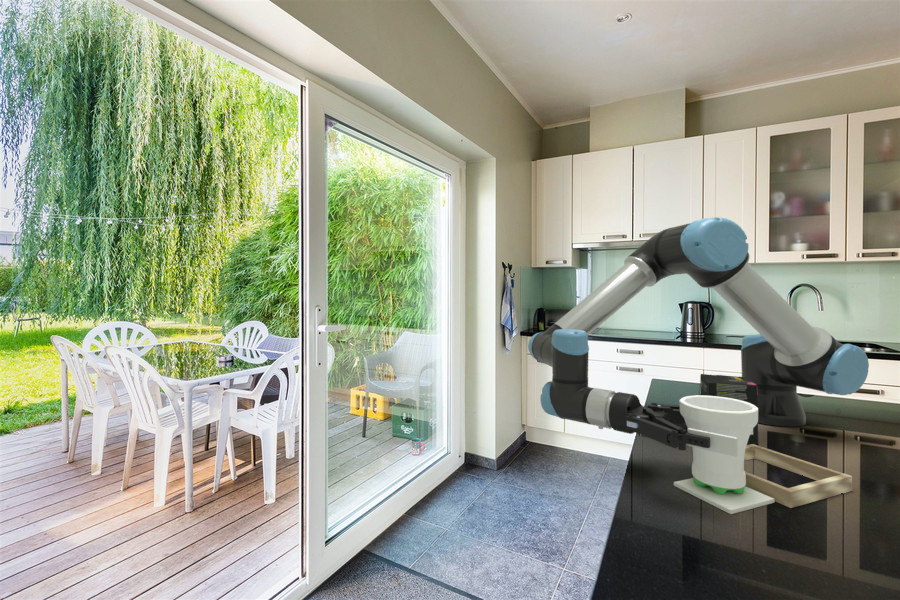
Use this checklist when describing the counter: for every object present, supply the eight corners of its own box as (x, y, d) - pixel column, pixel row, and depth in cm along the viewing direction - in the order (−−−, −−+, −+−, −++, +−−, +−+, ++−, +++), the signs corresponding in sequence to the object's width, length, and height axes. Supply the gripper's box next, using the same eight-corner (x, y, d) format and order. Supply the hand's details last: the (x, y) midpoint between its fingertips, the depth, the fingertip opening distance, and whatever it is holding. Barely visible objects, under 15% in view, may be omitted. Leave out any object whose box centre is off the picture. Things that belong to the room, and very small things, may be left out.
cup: (667, 471, 74) (666, 395, 74) (727, 470, 74) (727, 394, 74) (706, 502, 63) (705, 412, 63) (777, 501, 63) (776, 411, 63)
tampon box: (759, 454, 83) (759, 384, 83) (708, 448, 87) (707, 381, 87) (745, 437, 93) (745, 375, 93) (699, 432, 97) (699, 372, 97)
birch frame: (752, 456, 82) (752, 444, 82) (852, 490, 67) (852, 476, 67) (696, 467, 77) (696, 454, 77) (790, 508, 62) (790, 492, 62)
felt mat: (714, 476, 73) (714, 473, 73) (774, 502, 64) (774, 498, 64) (673, 485, 70) (673, 482, 70) (730, 514, 60) (730, 510, 60)
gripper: (638, 416, 88) (758, 439, 73) (585, 445, 71) (729, 484, 56) (638, 382, 88) (758, 399, 73) (585, 403, 71) (728, 431, 56)
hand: (745, 436), depth 64 cm, fingers open, 13 cm apart
